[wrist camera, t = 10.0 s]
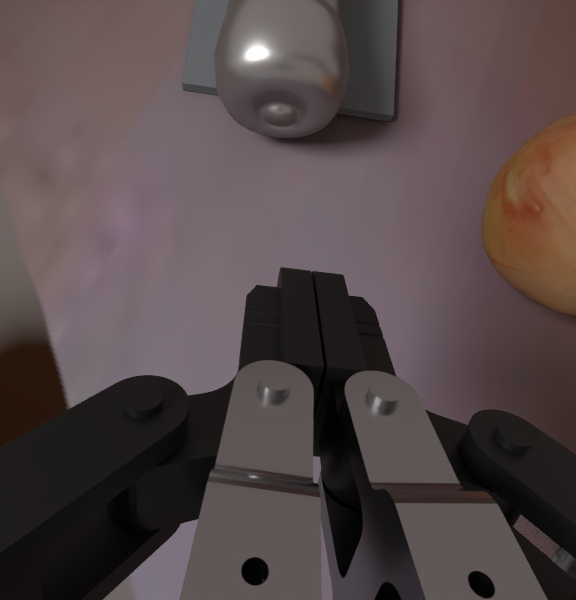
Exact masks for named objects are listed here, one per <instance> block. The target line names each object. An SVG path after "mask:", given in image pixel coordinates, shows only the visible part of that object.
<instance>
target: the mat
mask: <svg viewBox="0 0 576 600" xmlns="http://www.w3.org/2000/svg"><path fill="white" fill-rule="evenodd" d="M228 2H229V0H196V1H195V7H194V13H193V19H192V25H191V32H190V38H189V44H188V50H187V56H186V63H185V69H184V75H183V81H182V85H183V90H187V91H193V92H200V93H206V94H213V95H218V92H217V88H216V80H215V70H214V52H215V48H216V44H217V40H218V35H219V31H220V28H221V26H222V23H223V20H224V17H225V14H226V12H227V8H228ZM339 4H340V16H341V23H342V26H343V30H344V34H345V38H346V45H347V52H348V59H349V68H350V72H349V78H348V83H347V88H346V93H345V98H344V103H343V105H342V107H341V109H340V110H339V112H338V113H337V114H342V115H348V116H355V117H361V118H368V119H374V120H381V121H387V122H390V121H391V120H392V118H393V116H394V95H395V69H396V44H397V18H398V0H339Z"/></svg>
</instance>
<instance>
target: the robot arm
mask: <svg viewBox="0 0 576 600" xmlns="http://www.w3.org/2000/svg"><path fill="white" fill-rule="evenodd" d="M313 456H317V457H320V461H321V472H320V476H319V479H318V483H317V484H316V483H313ZM521 514H522V515H523V516H524V517H525V518H527V519H528V520H529V521H530V522H531V523H533V524H534V525H535V526H536V527H537V528H539V529H540V530H541V531H542V532H544V533H545V534H546V535H547V536H548V537H550V538H551V539H552V540H553V541H554V542H556V543H557V544H558V545H559V546H561V547H562V548H563V549H564V550H565V551H567V552H568V553H569V554H570V555H571V556H573V557H574V558H575V559H576V455H575V454H574V453H572V452H571V451H569V450H568V449H566V448H565V447H564V446H562V445H561V444H559V443H558V442H556V441H555V440H553V439H552V438H550V437H549V436H548V435H546V434H545V433H543V432H542V431H540V430H539V429H537V428H536V427H534V426H533V425H532V424H530V423H528V422H527V421H525V420H524V419H522V418H520V417H518V416H516V415H513V414H511V413H508V412H504V411H500V410H483V411H479V412H477V413H475V414H474V415H473V416H472V418H471V420H470V422H469V424H468V425H466V424H463V423H460V422H457V421H454V420H451V419H448V418H445V417H442V416H439V415H436V414H434V413H431V412H429V411H427V410H425V408H424V406H423V404H422V402H421V400H420V398H419V396H418V394H417V393H416V392H415V390H414V389H413V388H412V387H411V386H410V385H409V384H407V383H406V382H405V381H403V380H401V379H400V378H398V377H396V374H395V371H394V368H393V365H392V362H391V359H390V356H389V353H388V350H387V346H386V343H385V340H384V338H383V334H382V331H381V328H380V327H379V322H378V319H377V316H376V313H375V310H374V309H373V308H372V307H371V306H370V305H369V304H368V303H367V302H366V301H365V300H364V299H363V297H356V296H349V295H348V291H347V287H346V283H345V279H344V276H343V275H341V274H333V273H325V272H316V271H313V272H312V273H311V271H307V270H299V269H291V268H283V267H281V268H280V272H279V277H278V284H277V287H270V286H261V285H256V286H255V288H254V289H253V290H252V291H251V292H250V293H249V294H248V295H247V298H246V306H245V315H244V323H243V331H242V340H241V348H240V358H239V367H238V372H237V374H236V376H235V377H234V379H233V380H232V381H231V382H229V383H228V384H227V385H225V386H224V387H222V388H220V389H217V390H215V391H212V392H207V393H203V394H196V395H189V396H187V394H186V392H185V391H184V389H183V388H182V387H181V386H180V385H179V384H177V383H175V382H174V381H172V380H170V379H167V378H164V377H160V376H153V375H143V376H135V377H130V378H127V379H124V380H122V381H120V382H117V383H115V384H114V385H112V386H110V387H108V388H106V389H105V390H103V391H101V392H99V393H97V394H96V395H94V396H92V397H90V398H88V399H87V400H85V401H83V402H81V403H79V404H77V405H76V406H74V407H72V408H70V409H68V410H67V411H65V412H63V413H61V414H60V415H58V416H56V417H54V418H52V419H50V420H49V421H47V422H45V423H43V424H41V425H40V426H38V427H36V428H34V429H32V430H30V431H29V432H27V433H25V434H23V435H21V436H20V437H18V438H16V439H14V440H12V441H11V442H9V443H7V444H5V445H3V446H2V447H0V600H103V599H104V598H105V597H106V596H107V595H108V594H109V593H110V592H111V591H113V590H114V589H115V588H116V587H117V586H118V585H119V584H120V583H121V582H122V581H123V580H124V579H126V578H127V577H128V576H129V575H130V574H131V573H132V572H133V571H134V570H135V569H136V568H137V567H139V566H140V565H141V564H142V563H143V562H144V561H145V560H146V559H147V558H148V557H149V556H151V555H152V554H153V553H154V552H155V551H156V550H157V549H158V548H159V547H160V546H161V545H162V544H164V543H165V542H166V541H167V540H168V539H169V538H170V537H171V536H172V535H173V534H174V533H175V532H176V530H177V529H178V527H179V526H180V524H181V523H184V522H188V521H192V520H196V519H199V520H198V524H197V528H196V532H195V537H194V541H193V545H192V549H191V554H190V558H189V562H188V566H187V571H186V575H185V579H184V583H183V588H182V592H181V596H180V600H321V522H322V528H323V534H324V540H325V546H326V552H327V558H328V564H329V570H330V576H331V583H332V594H333V600H576V580H574V579H573V578H572V577H571V576H570V575H569V574H567V573H566V572H565V571H564V570H563V569H562V568H560V567H559V566H558V565H557V564H556V563H555V562H553V561H552V560H551V559H550V558H549V557H547V556H546V555H545V554H544V553H543V552H542V551H540V550H539V549H538V548H537V547H536V546H535V545H533V544H532V543H531V542H530V541H529V540H527V539H526V538H525V537H524V536H523V535H522V534H520V533H519V532H518V531H517V530H516V529H515V528H513V525H514V524H515V522H516V521H517V519H518V518H519V516H520V515H521Z"/></svg>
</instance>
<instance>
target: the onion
mask: <svg viewBox="0 0 576 600" xmlns="http://www.w3.org/2000/svg"><path fill="white" fill-rule="evenodd" d="M482 237H483V244H484V248H485V250H486V253H487V255H488V257H489V259H490V261H491V263H492V264H493V266H494V267H495V269H496V270H497V272H498V273H499V274H500V275H501V276H502V277H503V278H504V279H505V280H506V281H507V282H508V283H509V284H510V285H512V286H513V287H514V288H515V289H516V290H518V291H519V292H520V293H522V294H523V295H525V296H526V297H528V298H530V299H532V300H534V301H536V302H538V303H540V304H542V305H544V306H546V307H548V308H550V309H552V310H555V311H557V312H561V313H564V314H568V315H572V316H576V113H575V114H572V115H568V116H565V117H562V118H560V119H558V120H556V121H555V122H553V123H551V124H550V125H548V126H547V127H545V128H543V129H542V130H540V131H539V132H538V133H536V134H535V135H534V136H532V137H531V138H529V139H528V140H527V141H526V142H525V143H524V144H523V145H522V146H521V147H520V149H519V150H518V151H517V152H516V153H515V154H514V155H513V156H512V157H511V158H510V159H509V160H508V161H507V162H506V163H505V164H504V165H503V166H502V168H501V169H500V171H499V173H498V174H497V176H496V177H495V179H494V180H493V182H492V184H491V186H490V189H489V191H488V194H487V197H486V201H485V206H484V211H483V217H482Z"/></svg>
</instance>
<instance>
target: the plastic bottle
mask: <svg viewBox="0 0 576 600" xmlns="http://www.w3.org/2000/svg"><path fill="white" fill-rule="evenodd" d="M214 70H215V80H216V88H217V92H218V96H219V98H220V99H221V101H222V103H223V105H224V106H225V108H226V109H227V111H228V113H229V114H230V115H231V116H232V118H233V119H234V120H235V121H236V122H238V123H239V124H240V125H242V126H243V127H245V128H247V129H248V130H251V131H253V132H256V133H258V134H262V135H265V136H270V137H276V138H297V137H302V136H307V135H310V134H313V133H315V132H317V131H319V130H321V129H323V128H324V127H325V126H327V125H328V124H329V122H330V121H331V120H332V119H333V118H334V116H335V115H336V114H337V113H338V112H339V110H340V109H341V107H342V105H343V103H344V98H345V93H346V88H347V83H348V78H349V72H350V68H349V59H348V52H347V45H346V38H345V34H344V30H343V26H342V23H341V16H340V4H339V0H229V2H228V8H227V12H226V14H225V17H224V20H223V23H222V26H221V28H220V31H219V35H218V40H217V44H216V48H215V52H214Z"/></svg>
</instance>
